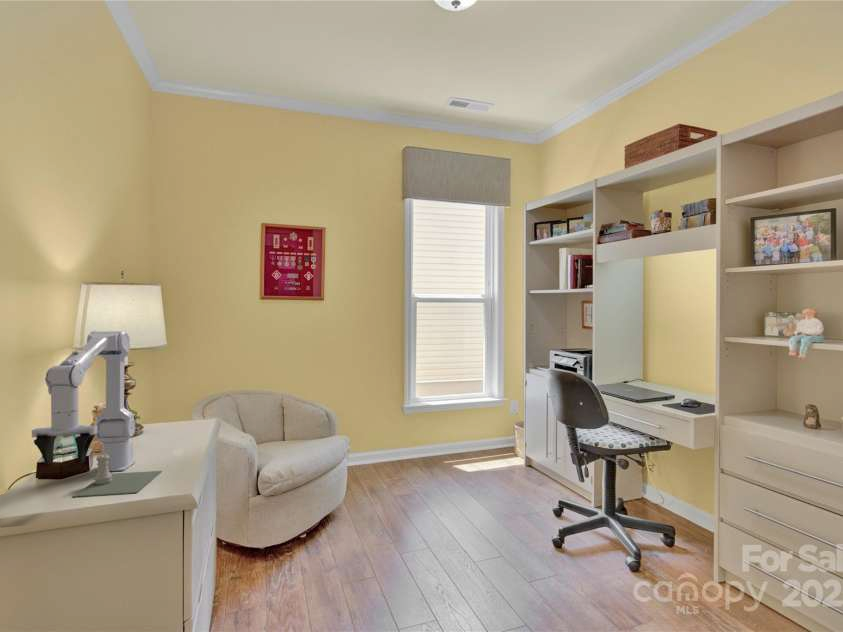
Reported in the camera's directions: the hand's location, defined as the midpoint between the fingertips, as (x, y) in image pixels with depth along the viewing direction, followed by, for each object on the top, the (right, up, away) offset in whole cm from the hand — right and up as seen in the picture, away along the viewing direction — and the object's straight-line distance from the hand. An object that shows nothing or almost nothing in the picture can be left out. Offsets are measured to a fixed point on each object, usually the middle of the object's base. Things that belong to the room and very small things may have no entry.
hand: (65, 463), depth 124 cm
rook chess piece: (+1, -10, +13) cm, 17 cm away
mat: (+6, -10, +13) cm, 18 cm away
